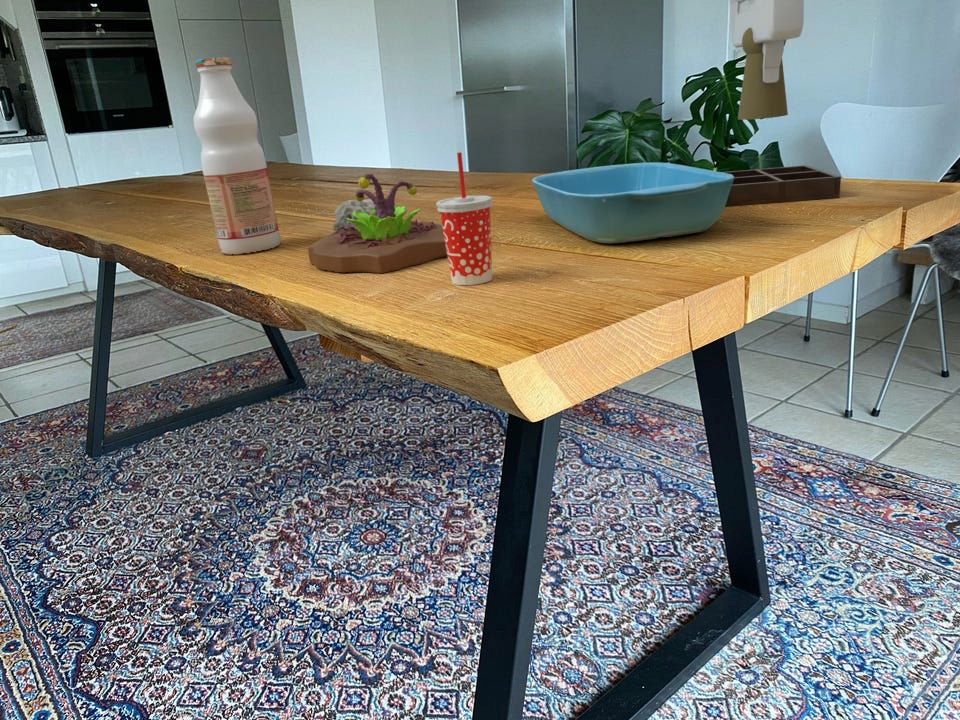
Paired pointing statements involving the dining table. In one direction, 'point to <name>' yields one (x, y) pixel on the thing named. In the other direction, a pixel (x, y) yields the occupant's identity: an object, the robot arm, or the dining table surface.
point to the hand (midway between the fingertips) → (763, 82)
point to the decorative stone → (351, 212)
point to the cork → (760, 85)
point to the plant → (379, 237)
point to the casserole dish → (634, 200)
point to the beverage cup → (467, 235)
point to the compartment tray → (782, 185)
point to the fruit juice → (233, 163)
